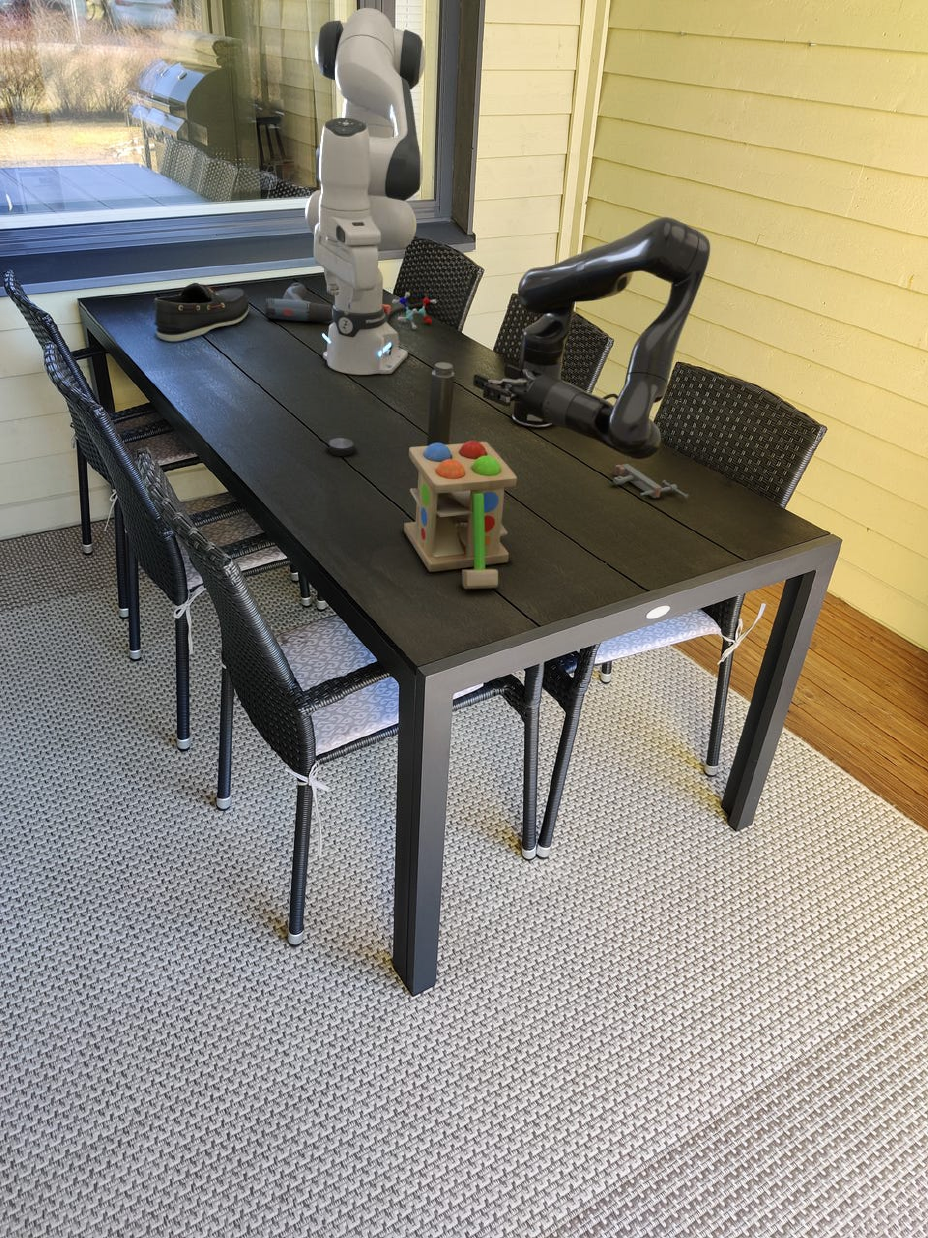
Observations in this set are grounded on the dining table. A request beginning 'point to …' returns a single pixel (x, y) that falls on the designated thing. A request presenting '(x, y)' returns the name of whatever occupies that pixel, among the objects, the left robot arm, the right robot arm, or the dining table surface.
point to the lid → (341, 447)
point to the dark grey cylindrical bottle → (440, 404)
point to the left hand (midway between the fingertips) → (343, 301)
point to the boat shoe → (198, 311)
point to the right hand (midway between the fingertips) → (490, 374)
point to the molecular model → (414, 310)
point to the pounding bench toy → (460, 509)
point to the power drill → (297, 306)
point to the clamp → (624, 475)
